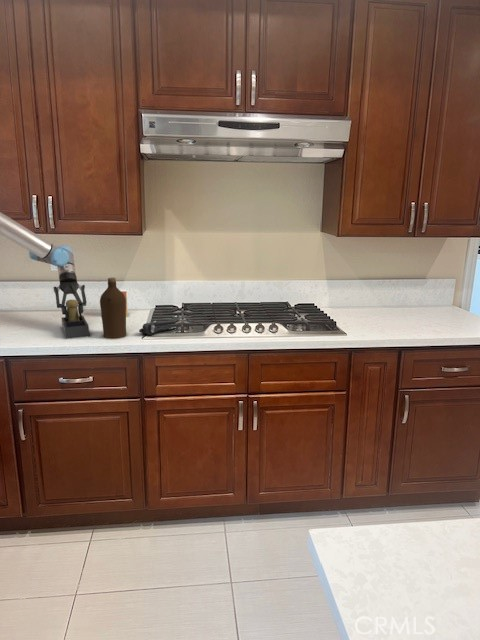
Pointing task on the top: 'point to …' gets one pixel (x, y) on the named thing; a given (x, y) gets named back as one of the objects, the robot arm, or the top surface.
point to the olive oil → (113, 311)
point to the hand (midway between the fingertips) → (74, 319)
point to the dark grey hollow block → (75, 328)
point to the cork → (72, 310)
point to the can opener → (150, 327)
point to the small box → (125, 297)
